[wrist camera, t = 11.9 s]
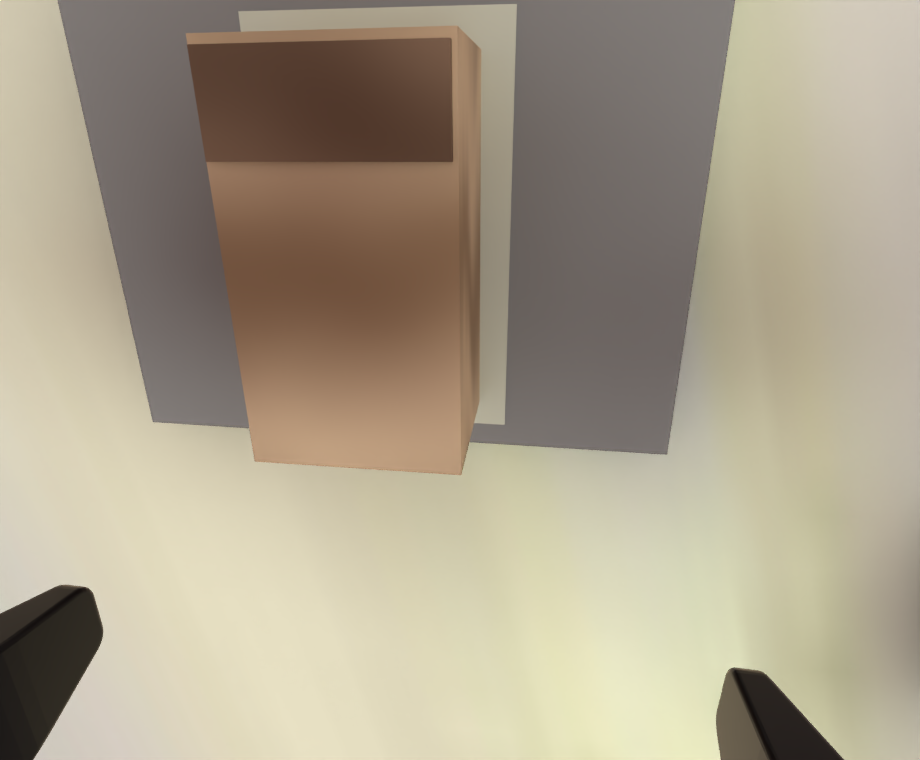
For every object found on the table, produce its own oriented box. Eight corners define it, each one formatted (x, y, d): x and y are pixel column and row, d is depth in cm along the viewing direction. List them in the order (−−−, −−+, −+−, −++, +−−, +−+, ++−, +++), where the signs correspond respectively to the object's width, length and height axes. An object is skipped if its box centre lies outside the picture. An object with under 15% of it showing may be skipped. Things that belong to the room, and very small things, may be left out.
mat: (730, -32, 14) (742, -42, 13) (662, 441, 18) (667, 456, 18) (76, -11, 16) (50, -18, 15) (167, 411, 20) (151, 423, 20)
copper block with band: (479, 401, 18) (460, 479, 14) (313, 393, 18) (251, 465, 14) (481, 49, 14) (455, 24, 10) (275, 54, 15) (179, 31, 11)
